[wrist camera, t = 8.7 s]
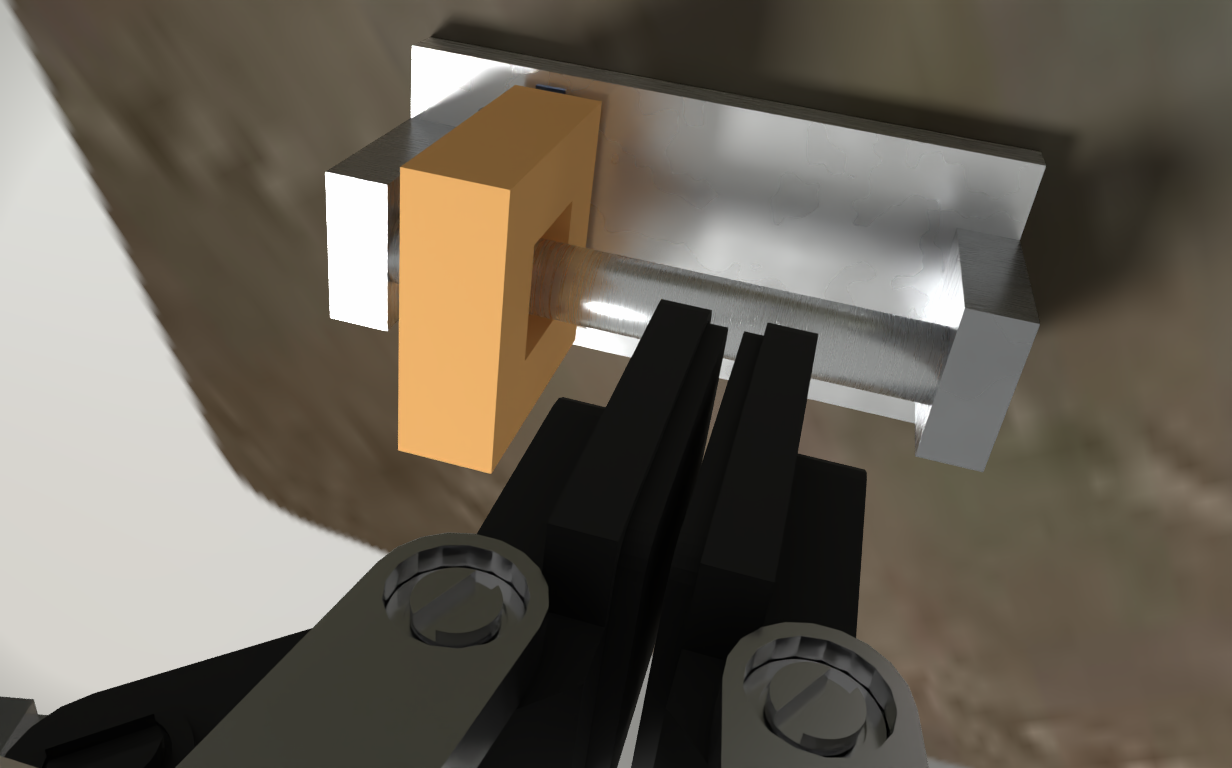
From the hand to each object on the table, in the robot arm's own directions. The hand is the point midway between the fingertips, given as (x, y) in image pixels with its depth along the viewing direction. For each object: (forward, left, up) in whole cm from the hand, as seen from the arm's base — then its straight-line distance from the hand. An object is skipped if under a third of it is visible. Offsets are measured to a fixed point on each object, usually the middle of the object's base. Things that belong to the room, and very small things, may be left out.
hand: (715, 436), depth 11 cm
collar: (+9, +8, -23) cm, 26 cm away
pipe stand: (+3, +8, -25) cm, 27 cm away
